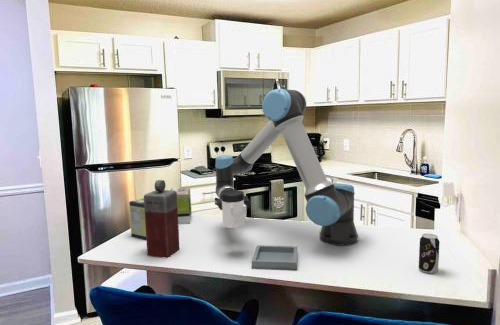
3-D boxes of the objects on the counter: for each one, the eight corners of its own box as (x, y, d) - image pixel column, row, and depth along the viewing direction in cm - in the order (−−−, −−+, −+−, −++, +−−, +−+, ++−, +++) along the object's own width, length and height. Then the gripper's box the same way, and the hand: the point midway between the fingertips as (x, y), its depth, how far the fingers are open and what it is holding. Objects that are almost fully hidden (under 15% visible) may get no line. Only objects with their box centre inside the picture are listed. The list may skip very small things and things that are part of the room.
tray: (297, 253, 140) (297, 246, 139) (296, 270, 125) (296, 262, 124) (257, 251, 142) (256, 245, 141) (251, 268, 127) (251, 261, 127)
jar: (227, 229, 133) (226, 196, 131) (219, 224, 140) (217, 192, 138) (250, 225, 137) (248, 193, 135) (240, 219, 144) (239, 189, 142)
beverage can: (441, 274, 120) (443, 238, 118) (424, 275, 119) (426, 238, 118) (431, 266, 125) (433, 232, 124) (415, 267, 125) (416, 233, 123)
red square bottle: (154, 246, 149) (150, 177, 145) (179, 249, 146) (176, 178, 142) (141, 254, 141) (136, 181, 137) (168, 258, 137) (164, 182, 133)
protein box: (173, 230, 170) (172, 196, 167) (148, 240, 156) (145, 204, 154) (156, 226, 175) (155, 194, 173) (130, 236, 162) (128, 201, 159)
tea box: (172, 216, 192) (170, 187, 190) (191, 215, 193) (190, 186, 191) (169, 225, 177) (167, 194, 175) (190, 223, 178) (189, 193, 176)
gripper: (248, 203, 157) (262, 218, 135) (208, 206, 154) (215, 223, 131) (248, 186, 156) (262, 198, 134) (207, 188, 153) (214, 202, 130)
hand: (238, 210), depth 133 cm, fingers closed on jar, 4 cm apart
